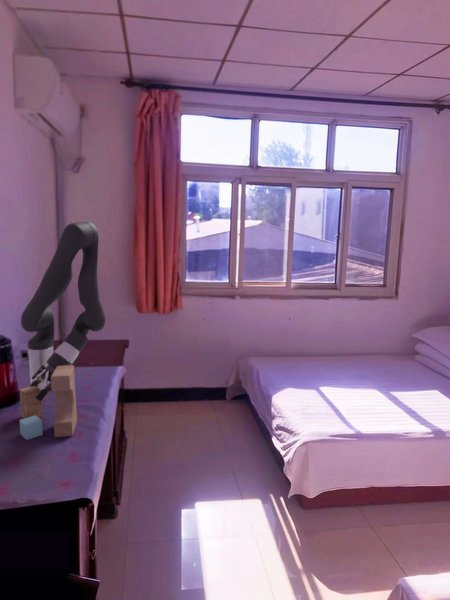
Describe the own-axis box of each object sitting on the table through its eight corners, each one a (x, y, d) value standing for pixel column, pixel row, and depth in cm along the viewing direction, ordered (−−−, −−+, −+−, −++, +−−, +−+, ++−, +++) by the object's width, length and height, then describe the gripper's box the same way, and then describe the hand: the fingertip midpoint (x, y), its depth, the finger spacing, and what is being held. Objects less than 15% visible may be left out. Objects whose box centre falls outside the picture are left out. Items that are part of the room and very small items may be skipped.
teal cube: (20, 434, 140) (19, 419, 139) (36, 429, 144) (35, 415, 143) (26, 440, 137) (25, 425, 136) (42, 435, 140) (41, 420, 139)
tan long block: (21, 416, 153) (19, 389, 151) (36, 412, 156) (34, 385, 155) (27, 421, 149) (25, 393, 148) (42, 417, 153) (40, 389, 151)
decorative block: (72, 436, 139) (69, 376, 135) (53, 438, 138) (49, 376, 134) (77, 421, 150) (74, 364, 146) (60, 422, 149) (56, 365, 145)
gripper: (47, 347, 161) (16, 385, 155) (64, 355, 151) (32, 396, 145) (62, 358, 165) (33, 395, 159) (80, 367, 155) (49, 407, 149)
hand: (33, 396), depth 152 cm, fingers open, 8 cm apart
